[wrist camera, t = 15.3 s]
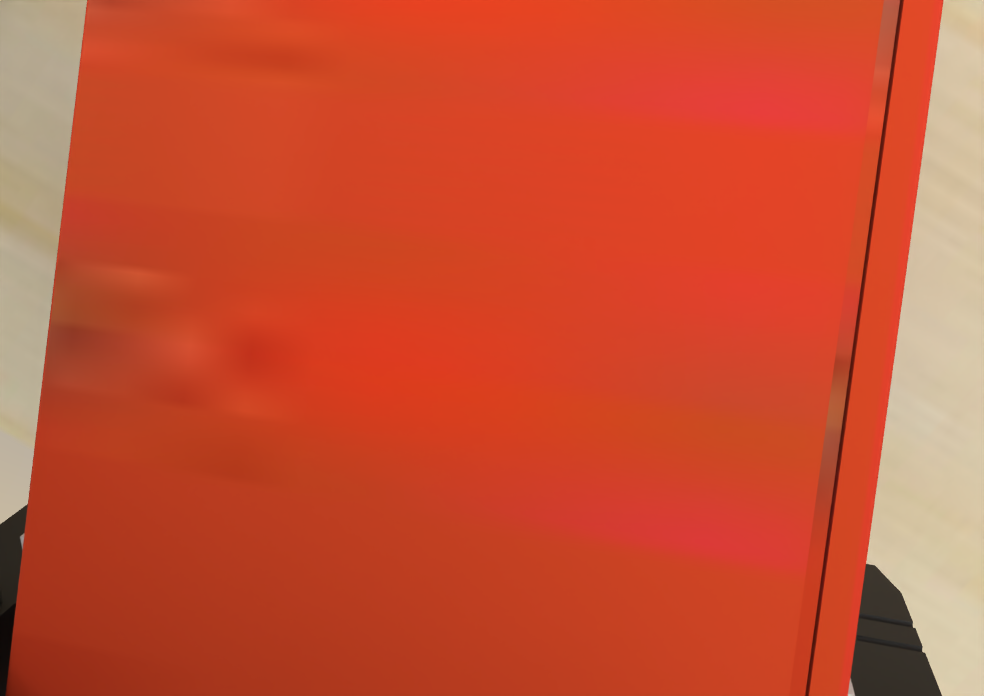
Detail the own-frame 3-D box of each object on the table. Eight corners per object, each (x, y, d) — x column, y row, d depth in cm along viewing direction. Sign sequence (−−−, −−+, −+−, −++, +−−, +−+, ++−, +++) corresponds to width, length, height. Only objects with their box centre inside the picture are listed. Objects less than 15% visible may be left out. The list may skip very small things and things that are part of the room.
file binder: (713, 94, 38) (1110, -1167, 6) (664, 465, 38) (811, 1006, 7) (540, 81, 39) (163, -1014, 8) (494, 440, 40) (-47, 789, 8)
